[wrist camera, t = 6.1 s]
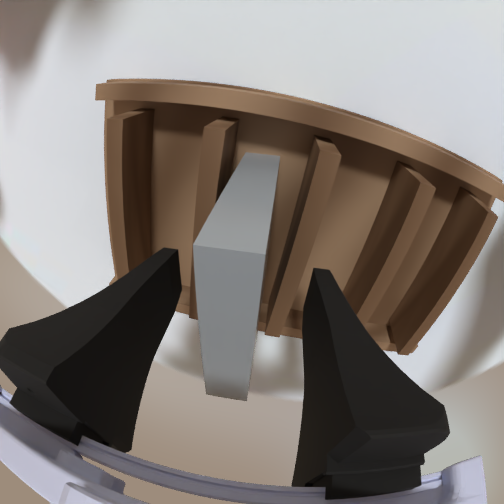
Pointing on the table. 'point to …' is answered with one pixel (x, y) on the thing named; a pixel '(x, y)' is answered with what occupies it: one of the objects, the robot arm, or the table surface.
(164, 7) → the table surface
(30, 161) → the table surface
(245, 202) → the grey upright slab
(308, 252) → the dish rack
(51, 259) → the table surface
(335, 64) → the table surface
